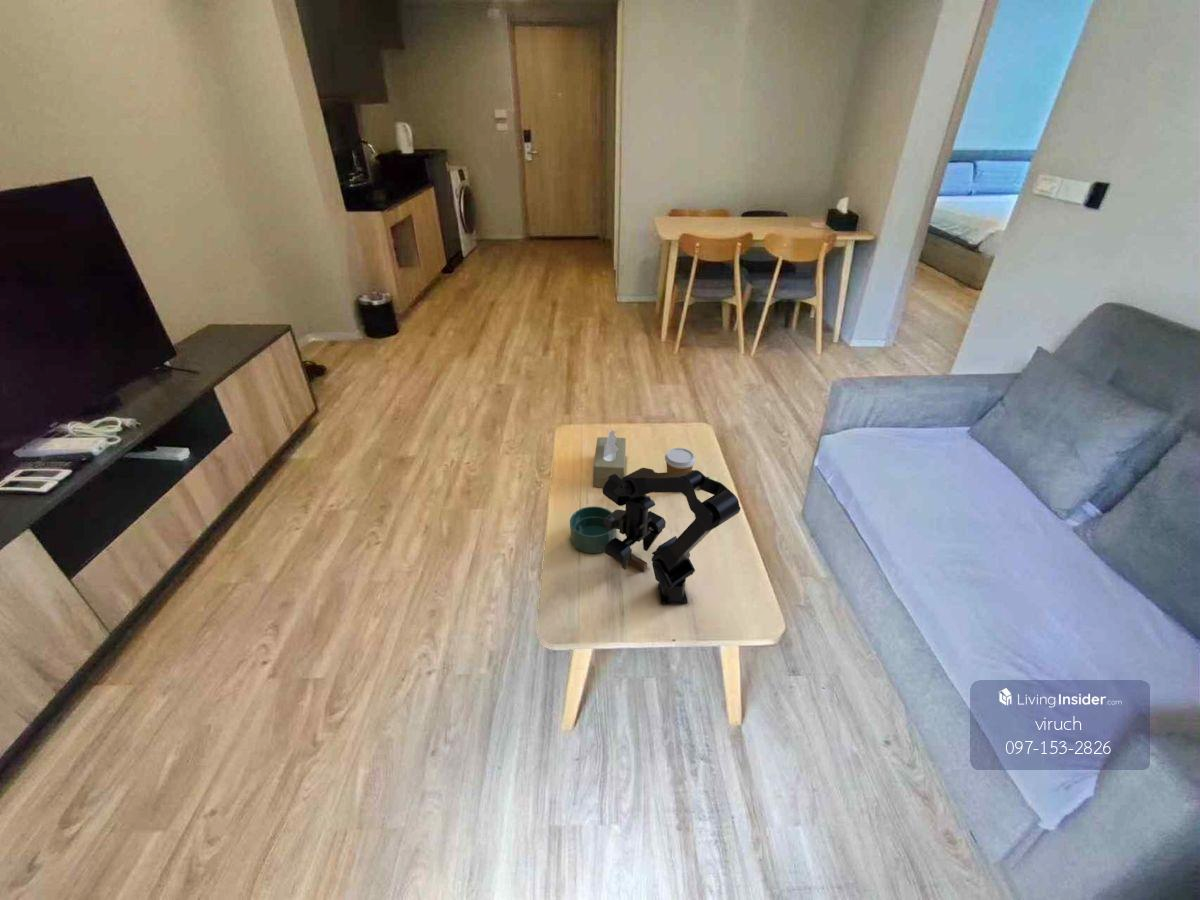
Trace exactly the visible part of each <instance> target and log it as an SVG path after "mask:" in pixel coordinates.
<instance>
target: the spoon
mask: <svg viewBox="0 0 1200 900" xmlns="http://www.w3.org/2000/svg"><path fill="white" fill-rule="evenodd" d="M631 555H632V557H631V560H630V562H629V564H630V565H632V566H633V567H635V568H637V569H638V570H639V571H642V572H645V571H646V570H648V562H647V561H645V560H643V559H642V558H640V557H639V556H637V555H635V554H634V553H633V552H632V553H631Z"/></svg>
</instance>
